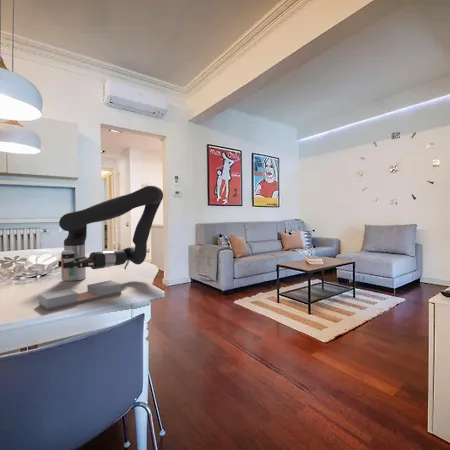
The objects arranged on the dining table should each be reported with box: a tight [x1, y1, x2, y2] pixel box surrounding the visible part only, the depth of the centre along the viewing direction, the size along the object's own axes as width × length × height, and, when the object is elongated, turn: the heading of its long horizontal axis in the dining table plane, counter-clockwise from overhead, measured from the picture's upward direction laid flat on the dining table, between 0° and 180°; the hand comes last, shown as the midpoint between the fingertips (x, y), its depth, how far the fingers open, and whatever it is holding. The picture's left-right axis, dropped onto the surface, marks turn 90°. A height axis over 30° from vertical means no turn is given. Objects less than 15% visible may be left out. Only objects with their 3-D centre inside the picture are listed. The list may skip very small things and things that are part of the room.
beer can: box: [60, 250, 75, 282], centre depth 111 cm, size 5×5×12 cm
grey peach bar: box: [38, 280, 122, 312], centre depth 102 cm, size 9×26×4 cm, turn 139°
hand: (61, 264), depth 109 cm, fingers closed on beer can, 4 cm apart
